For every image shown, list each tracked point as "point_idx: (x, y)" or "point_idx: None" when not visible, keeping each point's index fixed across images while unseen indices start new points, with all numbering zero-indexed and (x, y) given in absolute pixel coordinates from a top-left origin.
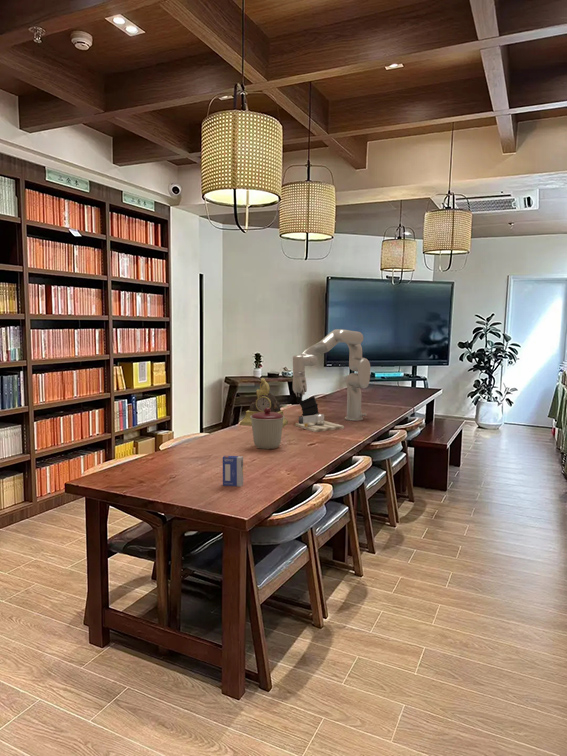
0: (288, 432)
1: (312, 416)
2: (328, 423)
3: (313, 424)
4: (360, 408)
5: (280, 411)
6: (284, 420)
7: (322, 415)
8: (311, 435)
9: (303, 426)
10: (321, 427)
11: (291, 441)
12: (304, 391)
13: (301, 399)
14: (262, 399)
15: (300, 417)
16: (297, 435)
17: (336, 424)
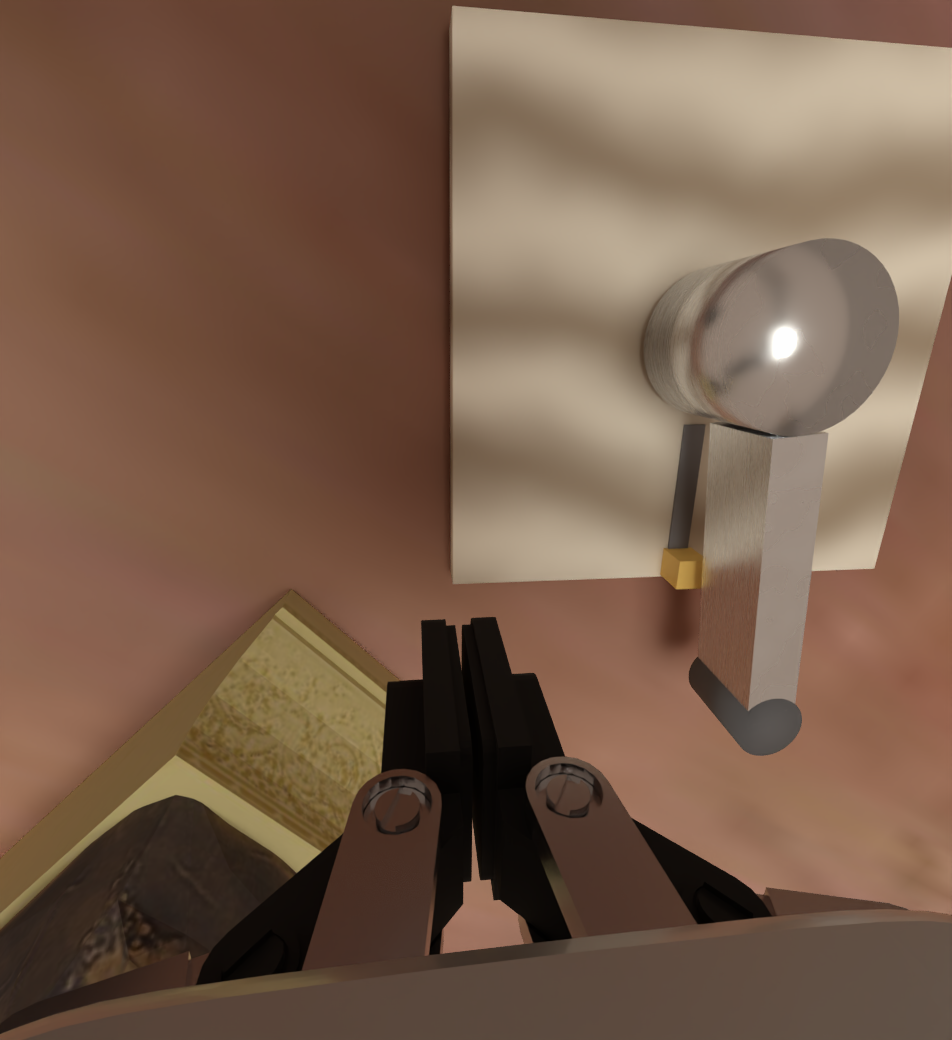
0: (691, 777)
1: (809, 530)
2: (721, 140)
3: (642, 406)
4: None
5: (249, 825)
6: (325, 686)
7: (894, 339)
8: (925, 665)
9: (642, 575)
10: (847, 432)
11: (945, 879)
12: (789, 949)
13: (548, 723)
14: None
15: (785, 745)
16: (836, 764)
17: (856, 74)
